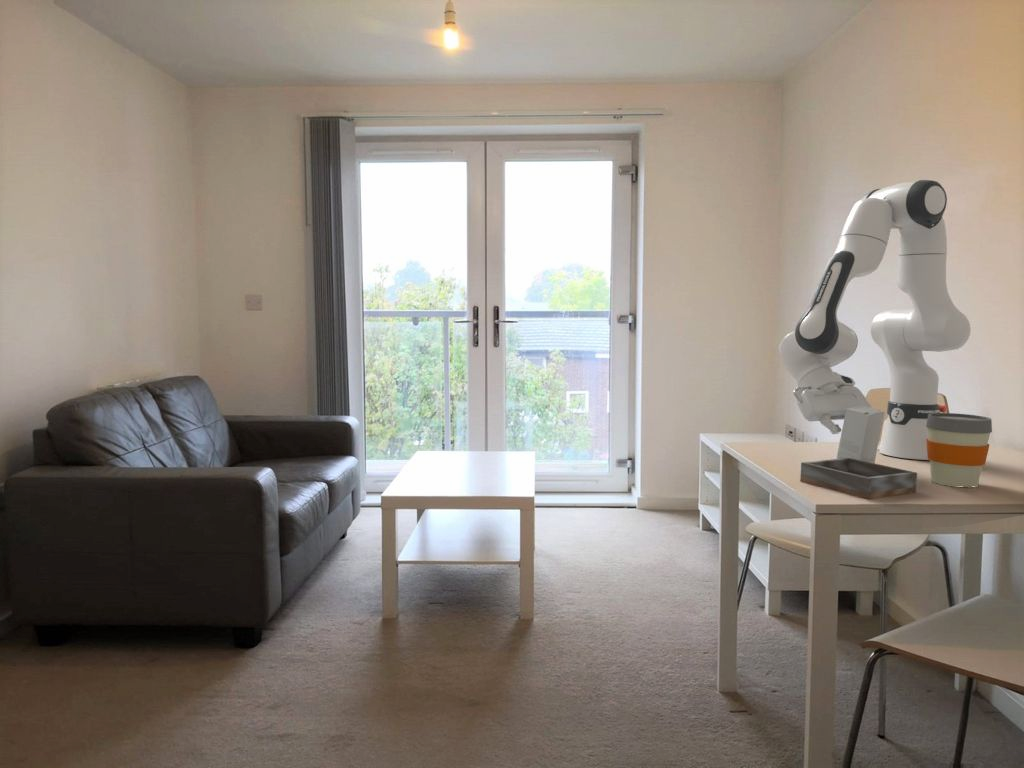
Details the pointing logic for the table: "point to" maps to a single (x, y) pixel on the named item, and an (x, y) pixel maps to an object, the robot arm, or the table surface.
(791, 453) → the table surface
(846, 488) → the open storage bin
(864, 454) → the skincare box
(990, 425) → the reusable coffee cup
